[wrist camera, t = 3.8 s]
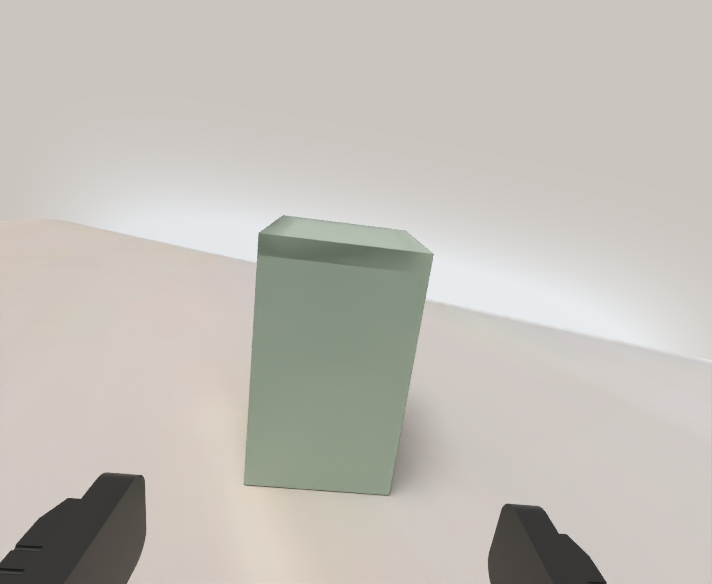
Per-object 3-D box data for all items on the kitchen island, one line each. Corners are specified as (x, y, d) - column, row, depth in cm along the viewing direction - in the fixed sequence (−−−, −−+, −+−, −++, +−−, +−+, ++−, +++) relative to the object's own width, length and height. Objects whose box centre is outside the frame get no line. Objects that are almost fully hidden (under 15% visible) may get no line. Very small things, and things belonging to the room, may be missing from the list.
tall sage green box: (243, 484, 17) (258, 232, 14) (269, 403, 23) (283, 215, 20) (389, 495, 18) (433, 253, 15) (376, 412, 24) (405, 230, 21)
